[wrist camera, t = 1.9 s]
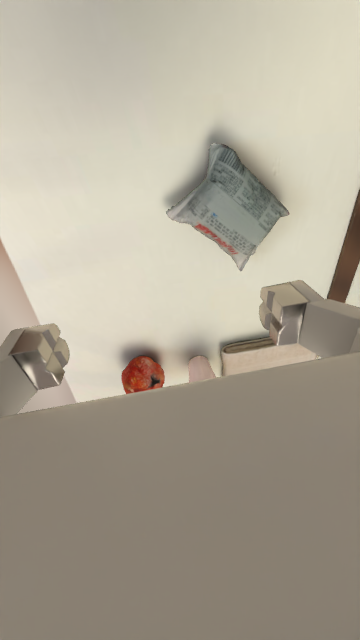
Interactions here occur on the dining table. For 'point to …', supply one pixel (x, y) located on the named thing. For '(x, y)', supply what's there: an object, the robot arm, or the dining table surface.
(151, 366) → the pomegranate
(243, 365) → the washcloth
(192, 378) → the smoothie
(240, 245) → the packaged food
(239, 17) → the dining table surface
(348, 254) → the ruler
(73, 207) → the dining table surface
